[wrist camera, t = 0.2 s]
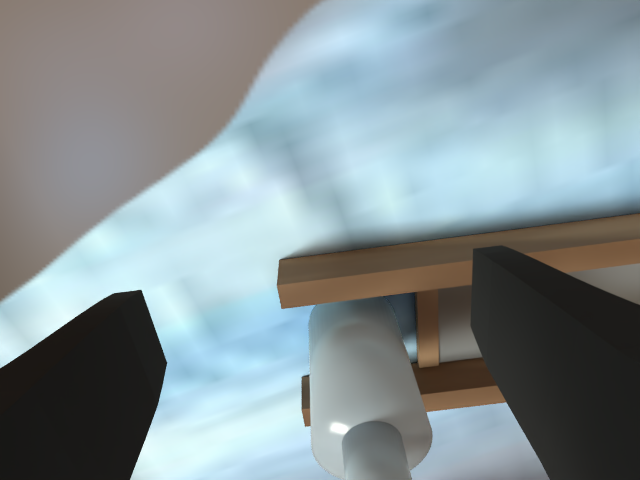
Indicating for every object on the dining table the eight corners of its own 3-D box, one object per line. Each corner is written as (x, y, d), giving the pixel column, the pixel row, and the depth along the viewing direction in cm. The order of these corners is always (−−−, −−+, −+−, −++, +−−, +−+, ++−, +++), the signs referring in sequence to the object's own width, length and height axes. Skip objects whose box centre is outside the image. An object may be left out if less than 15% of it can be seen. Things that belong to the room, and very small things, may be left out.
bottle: (397, 353, 23) (463, 581, 14) (314, 363, 23) (323, 596, 14) (393, 281, 21) (466, 491, 12) (302, 293, 22) (303, 510, 12)
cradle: (697, 345, 24) (757, 394, 21) (304, 393, 24) (305, 449, 21) (743, 199, 20) (825, 232, 17) (279, 259, 21) (275, 302, 17)
